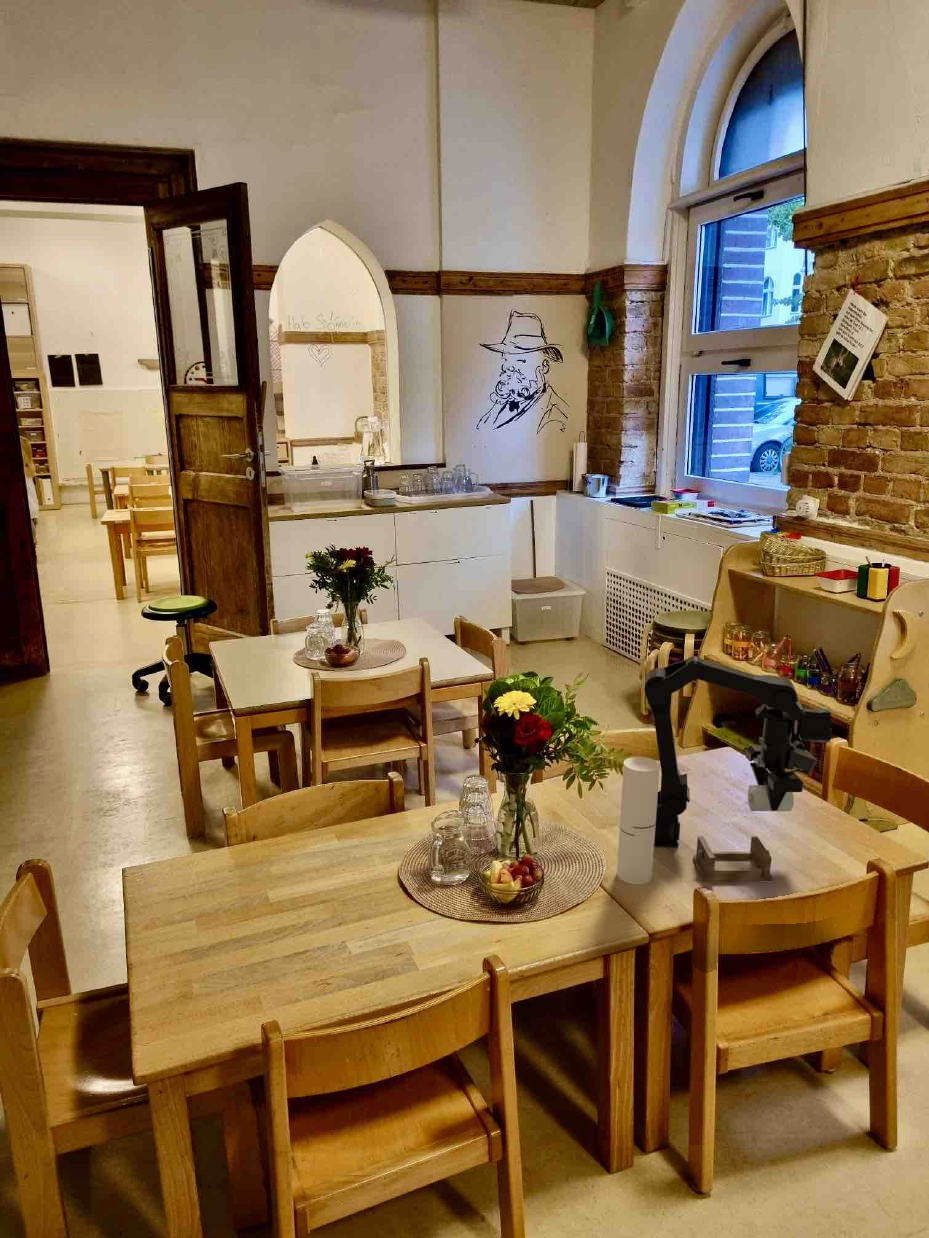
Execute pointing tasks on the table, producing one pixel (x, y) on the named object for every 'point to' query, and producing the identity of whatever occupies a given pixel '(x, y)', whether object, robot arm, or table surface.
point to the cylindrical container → (638, 819)
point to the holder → (733, 863)
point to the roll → (761, 802)
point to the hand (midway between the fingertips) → (769, 804)
